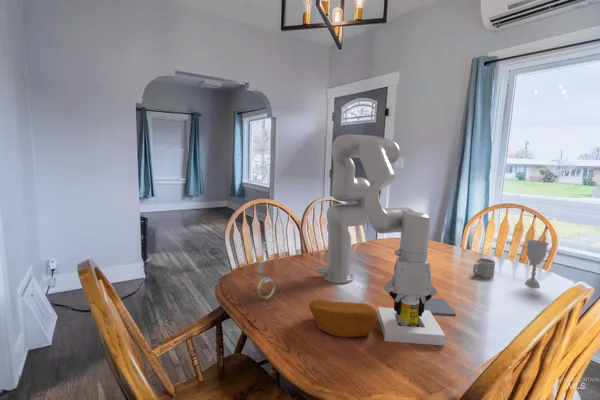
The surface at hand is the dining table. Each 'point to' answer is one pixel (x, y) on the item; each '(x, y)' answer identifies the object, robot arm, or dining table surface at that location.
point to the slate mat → (438, 307)
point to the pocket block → (410, 328)
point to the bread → (344, 318)
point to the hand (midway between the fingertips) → (408, 312)
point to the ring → (263, 285)
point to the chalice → (535, 258)
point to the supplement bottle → (408, 311)
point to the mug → (484, 268)
